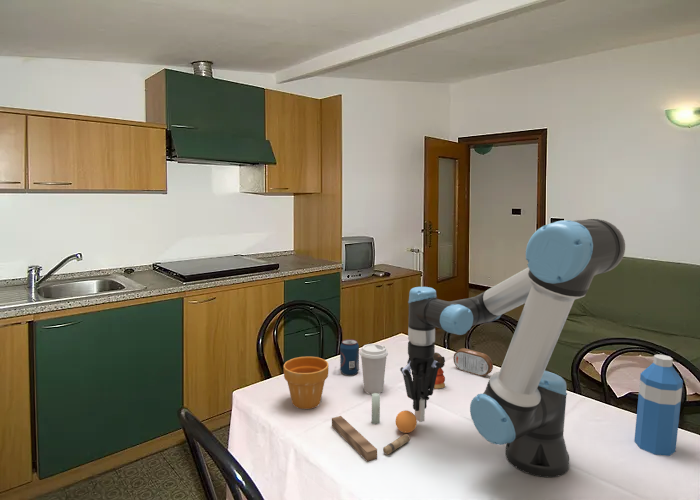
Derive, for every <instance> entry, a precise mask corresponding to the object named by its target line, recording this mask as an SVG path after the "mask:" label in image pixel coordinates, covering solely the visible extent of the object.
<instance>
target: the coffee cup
mask: <svg viewBox="0 0 700 500" xmlns="http://www.w3.org/2000/svg"><path fill="white" fill-rule="evenodd" d="M388 355H389V353H388V350H387V348H386V346H385V345H382V344H379V343H368V344H364V345H363V346H362V348H361V349H360V350H359V356H361V369H362V370H361V371H362V379H363V380H362V381H363V391H364V392H365V393H367V394H370V395H372V394H373V393H379V394H381V393H383V391H384V385H385V384H384V383H385V374H386V366H387V365H386V363H387V357H388Z"/></svg>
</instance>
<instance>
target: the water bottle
mask: <svg viewBox="0 0 700 500" xmlns="http://www.w3.org/2000/svg"><path fill="white" fill-rule="evenodd" d="M652 361H653V362H652V363H651V364H650V365H649V366H648V367H646V368H645V369H644V370H643V371H642V372H640V376H639V384H638V385H639V387H638V388H639V389H638V397H637V399H638V400H637V409H636V419H635V420H636V421H635V429H634V430H635V432H634V439H633V440H634V443H635V444H636V446H638V448H639V449H641V450H643V451H645V452H648V453H650V454H652V455H656V456H657V455H658V456H667V457H670V456H672V455H673V454H675V452H677V451H676V450H677V441H678V431H679V422H680V412H681V402H682V393H683V386H684V385H683V383H684V381H683V379H682V378H681V376H680V375H679V373H678V372H677V371H676V369H675V368H674V367H673V361H674V358H672V357H671V356H669V355H665V354H658V353H657V354H654V355H653V360H652Z"/></svg>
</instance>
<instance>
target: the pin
mask: <svg viewBox="0 0 700 500" xmlns="http://www.w3.org/2000/svg"><path fill="white" fill-rule="evenodd" d="M410 440H411V439H410V435H408V433H404V434H403V435H402V436H400V437H398V438H397V439H395V440H393V441H391V442H390V443H388V444H387V445H385V446H384V447H383V449H382V452H383V453H384V454H385V455H386V456H388V455H390V454H392V453H393V452H394V451H396V450H397V449H399V448H400V447H402V446H403V445H405V444H406V443H408V442H410Z"/></svg>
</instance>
